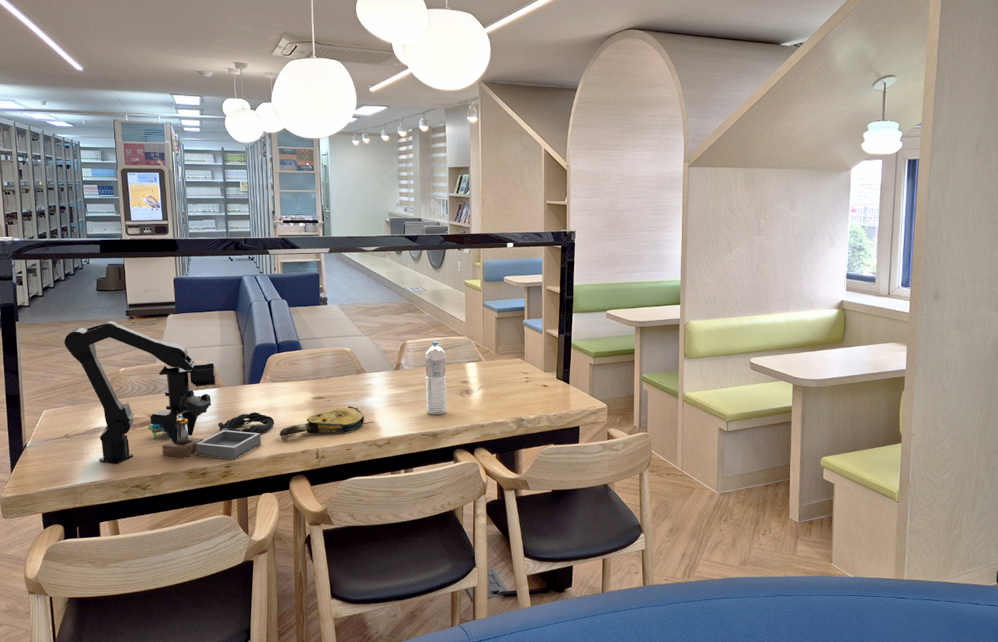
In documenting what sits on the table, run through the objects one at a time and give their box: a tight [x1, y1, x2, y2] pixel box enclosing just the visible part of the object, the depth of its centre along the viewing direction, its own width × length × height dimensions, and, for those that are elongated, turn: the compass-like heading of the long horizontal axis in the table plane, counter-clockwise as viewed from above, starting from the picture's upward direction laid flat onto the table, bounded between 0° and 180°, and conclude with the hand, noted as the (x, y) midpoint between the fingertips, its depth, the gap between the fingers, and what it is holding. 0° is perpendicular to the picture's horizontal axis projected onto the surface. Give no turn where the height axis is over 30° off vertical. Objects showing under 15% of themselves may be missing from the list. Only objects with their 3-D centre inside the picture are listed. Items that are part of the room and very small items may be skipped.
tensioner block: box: [162, 436, 205, 458], centre depth 218 cm, size 8×8×3 cm
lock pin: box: [177, 417, 189, 445], centre depth 218 cm, size 4×4×10 cm
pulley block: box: [278, 406, 374, 437], centre depth 238 cm, size 14×6×30 cm
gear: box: [148, 415, 183, 440], centre depth 232 cm, size 11×6×10 cm
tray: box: [195, 430, 262, 460], centre depth 220 cm, size 13×13×4 cm
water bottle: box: [424, 341, 447, 416], centre depth 254 cm, size 7×7×25 cm
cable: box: [217, 412, 275, 435], centre depth 237 cm, size 17×14×4 cm
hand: (182, 438), depth 218 cm, fingers open, 6 cm apart
